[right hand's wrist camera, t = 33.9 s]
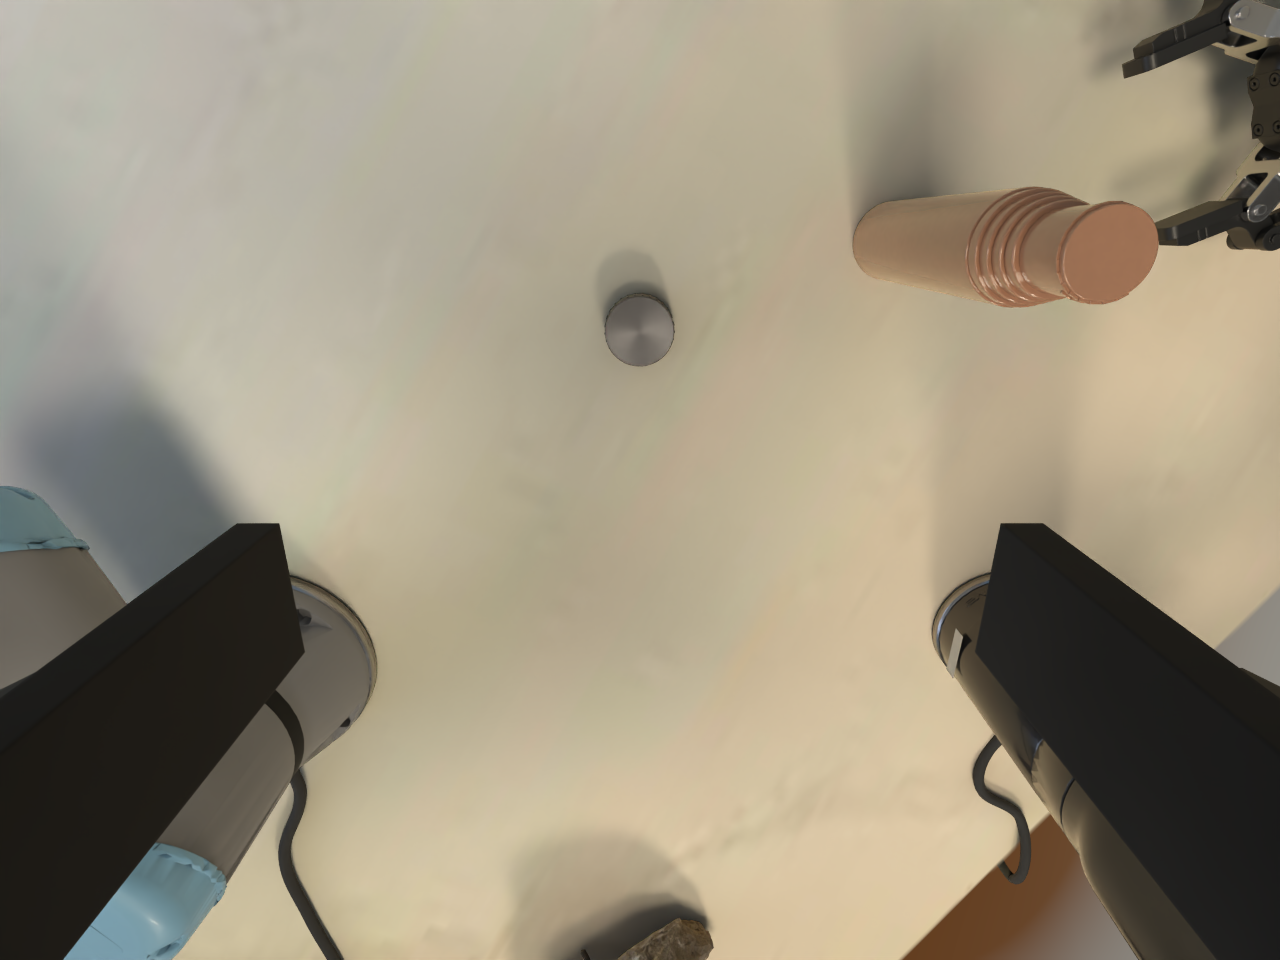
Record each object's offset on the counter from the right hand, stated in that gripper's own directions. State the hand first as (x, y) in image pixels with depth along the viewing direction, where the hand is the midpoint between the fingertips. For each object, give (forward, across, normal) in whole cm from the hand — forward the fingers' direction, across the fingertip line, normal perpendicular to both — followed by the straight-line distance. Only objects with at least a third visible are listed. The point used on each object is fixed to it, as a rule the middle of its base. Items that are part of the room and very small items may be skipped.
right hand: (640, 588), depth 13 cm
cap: (+33, 0, 0) cm, 33 cm away
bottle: (+35, +16, +5) cm, 38 cm away
